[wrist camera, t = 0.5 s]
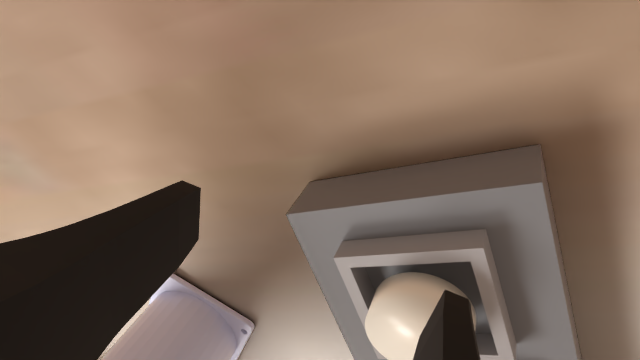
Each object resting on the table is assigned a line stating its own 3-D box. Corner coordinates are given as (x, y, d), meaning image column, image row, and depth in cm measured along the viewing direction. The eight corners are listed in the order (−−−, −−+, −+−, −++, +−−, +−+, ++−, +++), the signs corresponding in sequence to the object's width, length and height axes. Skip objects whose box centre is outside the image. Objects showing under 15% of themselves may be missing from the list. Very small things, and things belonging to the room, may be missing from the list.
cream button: (486, 348, 20) (484, 378, 18) (390, 345, 22) (383, 371, 21) (462, 269, 18) (458, 297, 17) (361, 274, 20) (350, 298, 19)
